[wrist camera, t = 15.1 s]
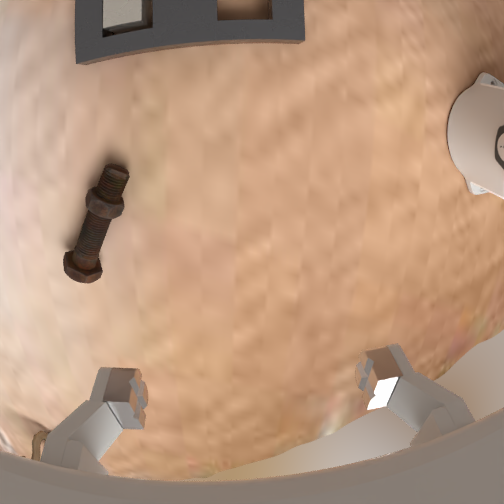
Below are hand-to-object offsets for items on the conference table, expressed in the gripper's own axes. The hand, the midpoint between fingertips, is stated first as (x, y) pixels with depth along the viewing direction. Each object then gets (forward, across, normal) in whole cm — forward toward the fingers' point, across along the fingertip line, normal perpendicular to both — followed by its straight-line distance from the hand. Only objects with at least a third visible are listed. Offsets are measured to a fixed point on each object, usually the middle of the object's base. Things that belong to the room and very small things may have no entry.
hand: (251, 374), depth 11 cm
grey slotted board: (+29, +4, -20) cm, 35 cm away
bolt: (+30, +16, +5) cm, 34 cm away
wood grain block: (+29, +10, -19) cm, 36 cm away
